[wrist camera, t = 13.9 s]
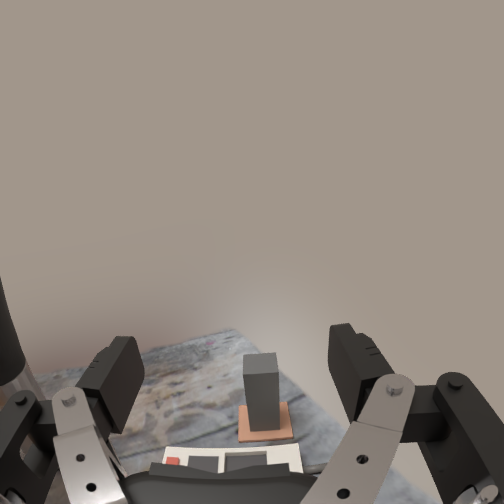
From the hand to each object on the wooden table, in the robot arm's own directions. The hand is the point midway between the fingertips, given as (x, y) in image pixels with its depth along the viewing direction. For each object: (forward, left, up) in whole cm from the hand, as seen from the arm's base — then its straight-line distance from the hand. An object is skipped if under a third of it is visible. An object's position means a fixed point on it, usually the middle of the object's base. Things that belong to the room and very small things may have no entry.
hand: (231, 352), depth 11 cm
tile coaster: (-14, +17, -30) cm, 37 cm away
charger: (-14, +17, -29) cm, 37 cm away
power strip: (-9, +7, -30) cm, 32 cm away
